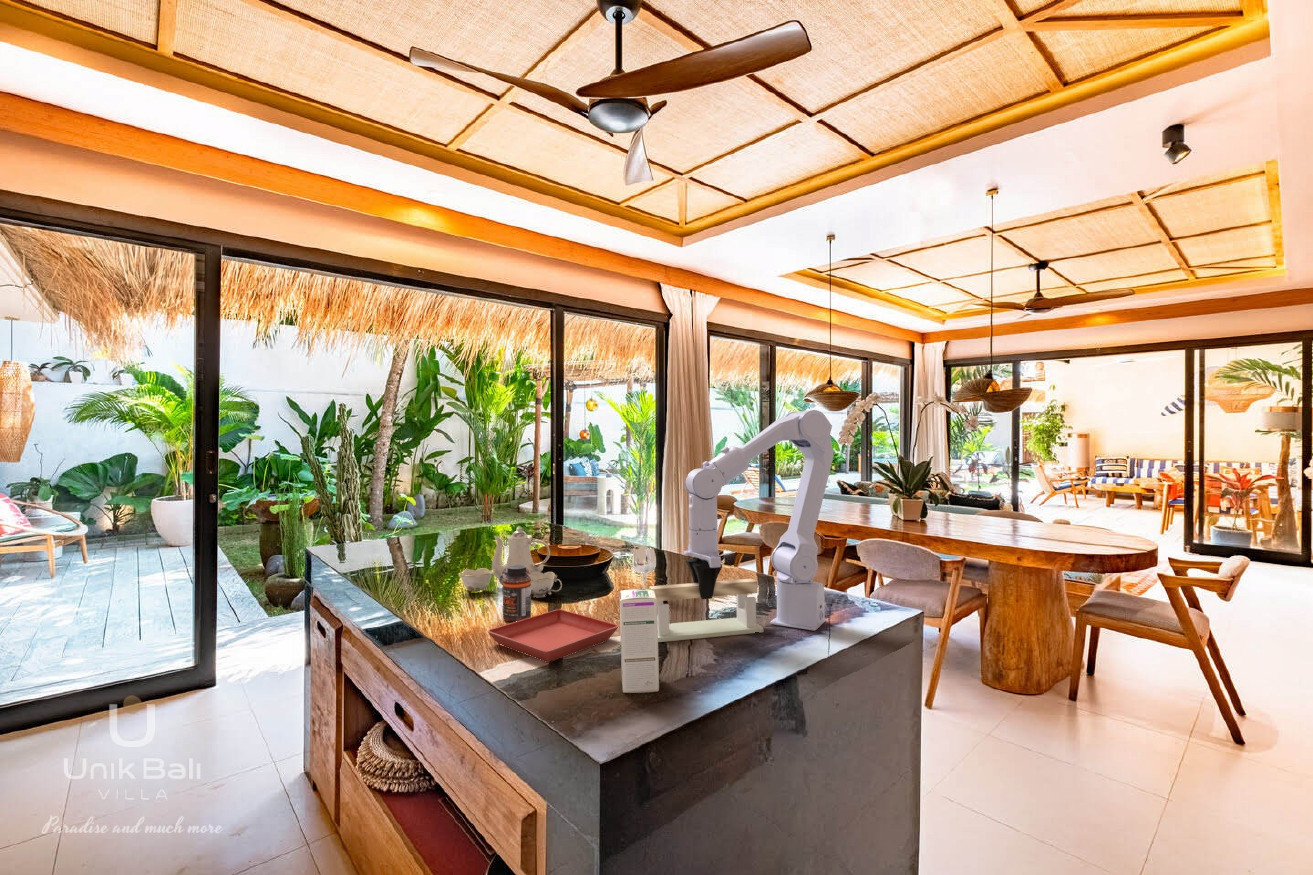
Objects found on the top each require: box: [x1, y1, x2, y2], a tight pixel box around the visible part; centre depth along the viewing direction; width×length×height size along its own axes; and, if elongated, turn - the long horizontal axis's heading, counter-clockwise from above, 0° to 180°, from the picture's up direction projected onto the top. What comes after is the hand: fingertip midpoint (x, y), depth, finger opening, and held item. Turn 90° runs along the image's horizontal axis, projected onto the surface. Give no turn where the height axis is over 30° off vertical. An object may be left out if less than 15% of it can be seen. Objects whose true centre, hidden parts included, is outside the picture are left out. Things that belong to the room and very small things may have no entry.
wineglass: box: [631, 545, 657, 589], centre depth 149 cm, size 6×6×12 cm
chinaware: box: [457, 525, 563, 599], centre depth 156 cm, size 28×17×17 cm, turn 80°
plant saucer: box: [487, 608, 620, 663], centre depth 117 cm, size 18×18×3 cm
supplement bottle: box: [502, 565, 532, 622], centre depth 132 cm, size 6×6×11 cm
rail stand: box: [656, 594, 764, 643], centre depth 123 cm, size 22×8×6 cm, turn 104°
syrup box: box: [619, 588, 660, 694], centre depth 96 cm, size 6×6×14 cm
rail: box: [648, 578, 759, 602], centre depth 123 cm, size 22×2×2 cm, turn 104°
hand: (704, 596), depth 123 cm, fingers closed on rail, 2 cm apart
